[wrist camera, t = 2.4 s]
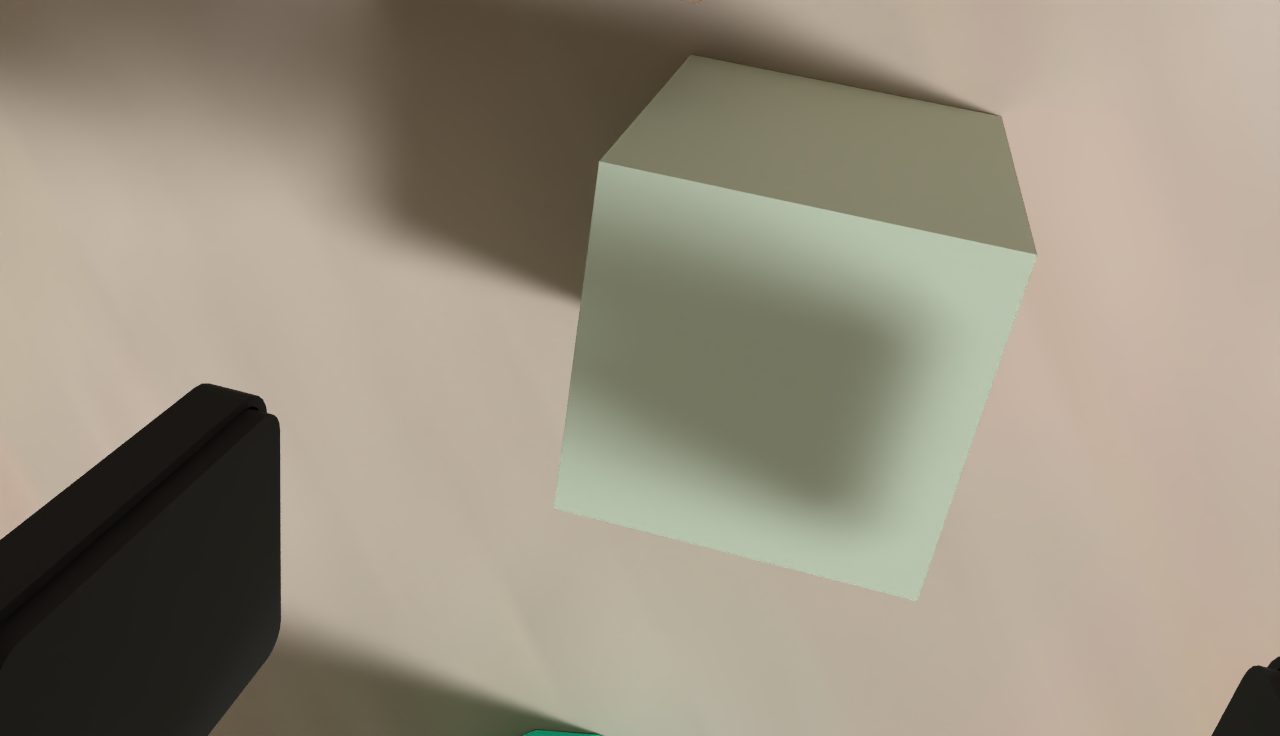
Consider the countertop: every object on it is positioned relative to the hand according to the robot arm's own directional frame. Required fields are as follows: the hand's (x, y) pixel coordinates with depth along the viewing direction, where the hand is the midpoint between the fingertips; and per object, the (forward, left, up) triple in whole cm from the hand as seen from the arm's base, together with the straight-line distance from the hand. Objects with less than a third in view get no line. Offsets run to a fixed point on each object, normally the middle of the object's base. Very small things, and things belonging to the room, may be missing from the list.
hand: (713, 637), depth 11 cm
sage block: (-1, 0, -10) cm, 10 cm away
